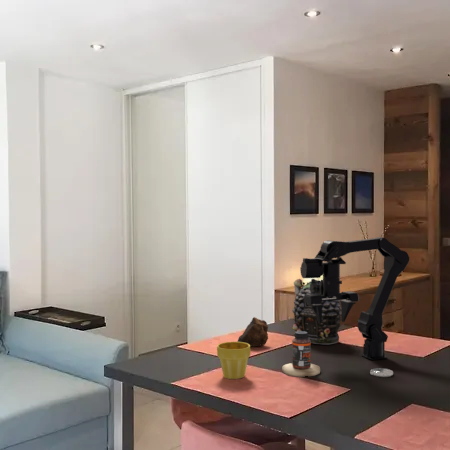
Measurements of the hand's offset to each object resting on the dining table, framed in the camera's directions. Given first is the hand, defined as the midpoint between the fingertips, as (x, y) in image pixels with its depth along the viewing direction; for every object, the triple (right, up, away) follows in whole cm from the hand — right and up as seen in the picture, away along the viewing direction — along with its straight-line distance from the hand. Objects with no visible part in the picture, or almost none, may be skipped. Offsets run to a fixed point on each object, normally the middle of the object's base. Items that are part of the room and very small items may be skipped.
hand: (331, 322), depth 198 cm
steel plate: (+13, -13, -16) cm, 25 cm away
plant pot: (-34, -14, -18) cm, 41 cm away
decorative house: (0, -13, +30) cm, 33 cm away
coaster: (-12, -13, -13) cm, 22 cm away
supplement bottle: (-12, -12, -13) cm, 21 cm away
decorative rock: (-26, -13, +23) cm, 37 cm away
